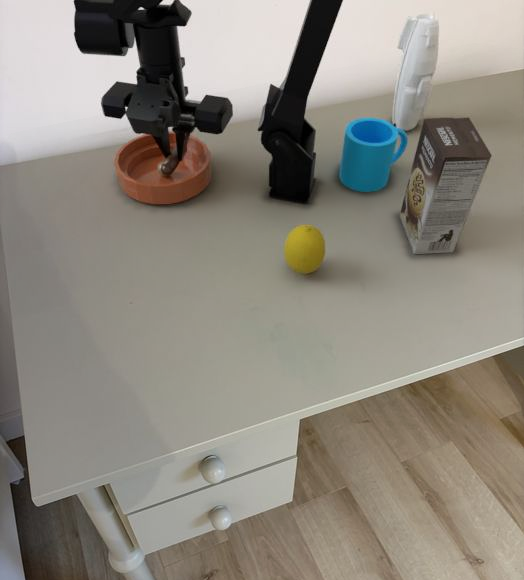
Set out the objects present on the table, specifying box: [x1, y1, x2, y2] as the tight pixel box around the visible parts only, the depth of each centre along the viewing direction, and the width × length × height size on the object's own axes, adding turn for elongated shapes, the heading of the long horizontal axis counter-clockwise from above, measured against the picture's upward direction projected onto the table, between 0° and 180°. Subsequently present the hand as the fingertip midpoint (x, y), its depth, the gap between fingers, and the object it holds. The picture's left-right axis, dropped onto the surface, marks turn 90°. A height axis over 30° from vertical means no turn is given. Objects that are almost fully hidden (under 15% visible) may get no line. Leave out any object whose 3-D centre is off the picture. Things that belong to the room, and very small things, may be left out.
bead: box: [157, 161, 167, 177], centre depth 87 cm, size 2×2×2 cm
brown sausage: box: [161, 145, 187, 176], centre depth 85 cm, size 8×2×2 cm, turn 164°
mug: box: [338, 117, 408, 193], centre depth 86 cm, size 12×8×8 cm
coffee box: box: [399, 117, 493, 255], centre depth 74 cm, size 9×6×16 cm
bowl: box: [113, 130, 212, 205], centre depth 87 cm, size 15×15×4 cm
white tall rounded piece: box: [391, 11, 440, 132], centre depth 92 cm, size 7×18×7 cm
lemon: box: [283, 224, 326, 275], centre depth 72 cm, size 6×6×8 cm
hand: (174, 158), depth 85 cm, fingers closed on brown sausage, 2 cm apart
